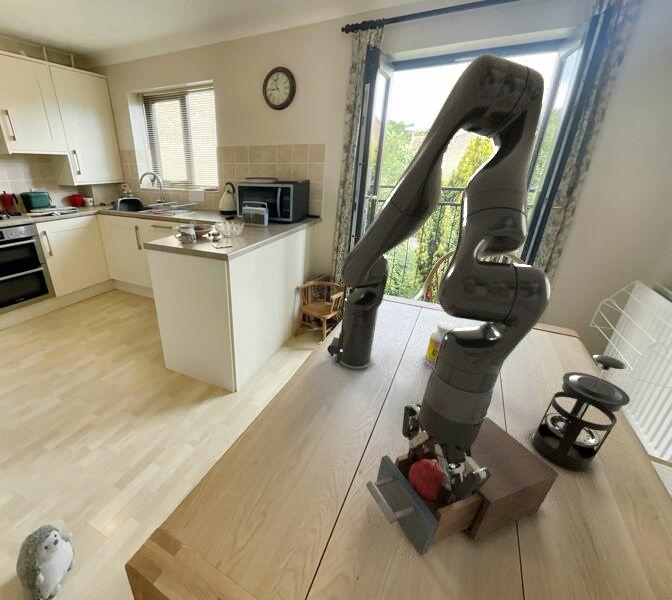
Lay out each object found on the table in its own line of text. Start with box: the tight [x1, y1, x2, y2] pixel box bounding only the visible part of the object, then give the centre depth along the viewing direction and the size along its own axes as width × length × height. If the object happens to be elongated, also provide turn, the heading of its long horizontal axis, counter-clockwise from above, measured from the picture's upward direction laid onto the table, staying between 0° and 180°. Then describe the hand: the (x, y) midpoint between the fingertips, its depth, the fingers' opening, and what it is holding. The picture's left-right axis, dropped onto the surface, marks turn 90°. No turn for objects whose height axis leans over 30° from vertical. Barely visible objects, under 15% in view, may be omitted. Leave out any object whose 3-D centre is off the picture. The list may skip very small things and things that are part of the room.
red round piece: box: [409, 459, 444, 502], centre depth 50 cm, size 6×6×8 cm
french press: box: [530, 354, 631, 473], centre depth 60 cm, size 12×9×23 cm
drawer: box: [365, 447, 484, 556], centre depth 51 cm, size 18×11×8 cm, turn 108°
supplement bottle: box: [424, 321, 458, 369], centre depth 89 cm, size 7×7×13 cm
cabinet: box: [424, 416, 560, 541], centre depth 55 cm, size 15×13×10 cm
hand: (428, 480), depth 50 cm, fingers closed on red round piece, 6 cm apart
